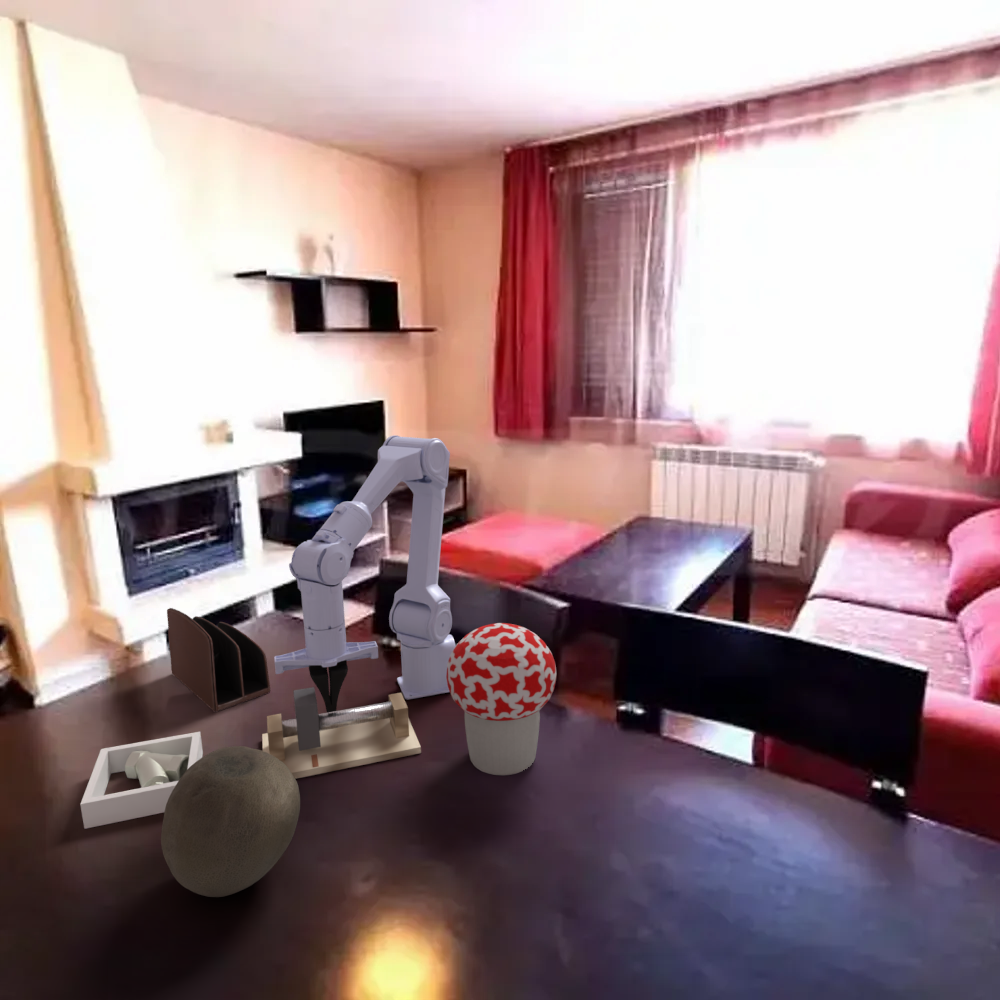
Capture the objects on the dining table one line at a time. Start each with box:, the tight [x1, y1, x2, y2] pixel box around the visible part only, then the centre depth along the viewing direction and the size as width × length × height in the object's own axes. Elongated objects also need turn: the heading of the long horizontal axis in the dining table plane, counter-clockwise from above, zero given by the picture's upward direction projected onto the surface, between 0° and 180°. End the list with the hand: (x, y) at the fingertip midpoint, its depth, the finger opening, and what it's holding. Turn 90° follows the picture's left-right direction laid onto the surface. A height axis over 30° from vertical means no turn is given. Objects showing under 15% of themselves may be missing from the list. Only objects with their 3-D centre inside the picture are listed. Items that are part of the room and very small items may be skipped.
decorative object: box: [446, 622, 557, 776], centre depth 100 cm, size 16×16×20 cm
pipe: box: [282, 701, 393, 738], centre depth 104 cm, size 20×3×3 cm, turn 109°
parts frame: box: [79, 731, 204, 830], centre depth 95 cm, size 13×13×4 cm
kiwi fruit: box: [160, 745, 301, 898], centre depth 78 cm, size 14×14×15 cm
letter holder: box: [166, 607, 271, 713], centre depth 124 cm, size 10×20×14 cm, turn 44°
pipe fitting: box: [124, 751, 189, 788], centre depth 96 cm, size 8×4×7 cm
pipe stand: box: [261, 692, 422, 780], centre depth 104 cm, size 22×12×6 cm, turn 109°
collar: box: [293, 686, 321, 751], centre depth 102 cm, size 3×5×7 cm, turn 19°
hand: (331, 708), depth 103 cm, fingers closed
